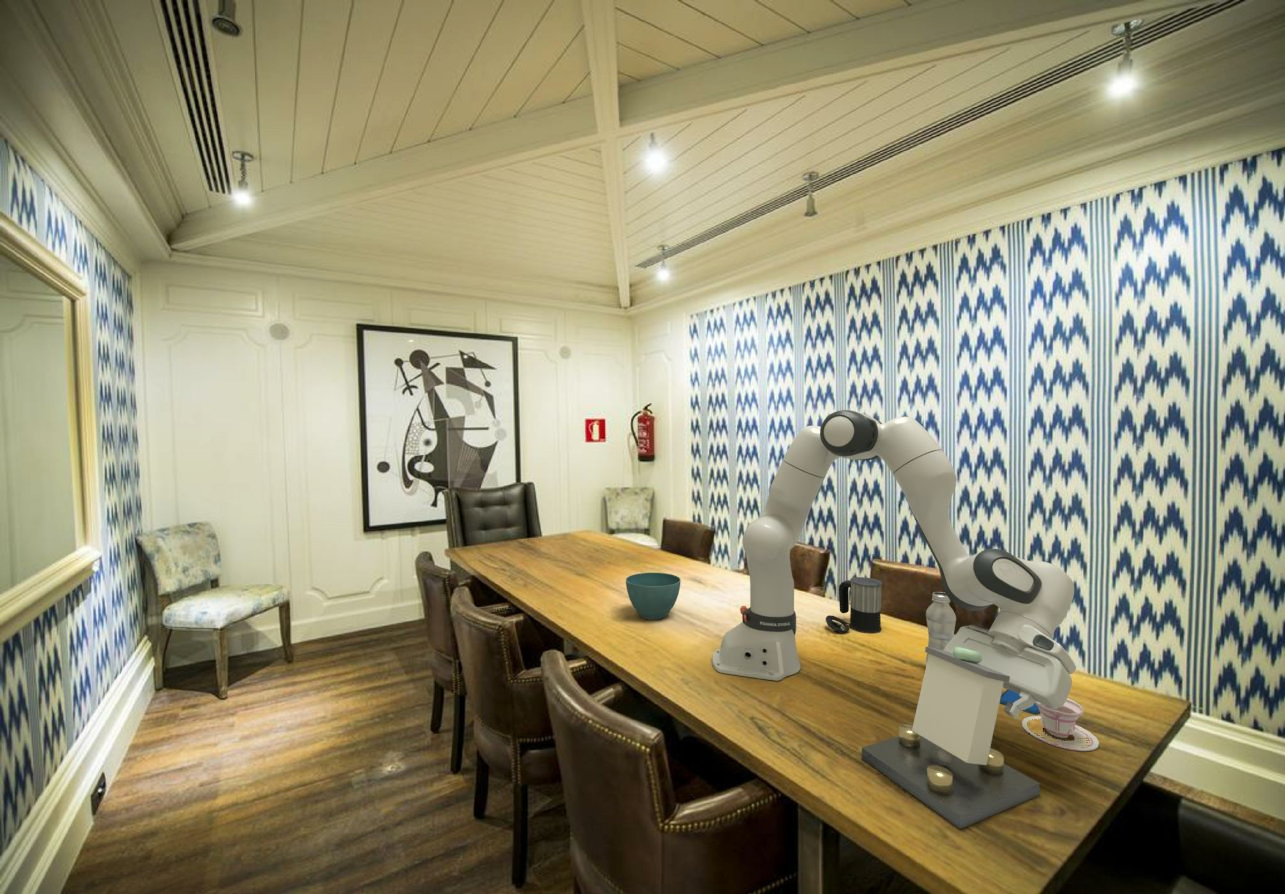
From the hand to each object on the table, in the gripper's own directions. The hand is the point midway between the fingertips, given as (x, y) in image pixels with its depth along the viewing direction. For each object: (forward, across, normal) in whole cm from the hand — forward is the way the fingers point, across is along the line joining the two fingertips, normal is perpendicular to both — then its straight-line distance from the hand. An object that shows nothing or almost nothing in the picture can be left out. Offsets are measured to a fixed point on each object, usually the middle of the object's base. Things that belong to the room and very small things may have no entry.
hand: (982, 702), depth 94 cm
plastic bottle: (-10, -28, +26) cm, 40 cm away
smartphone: (-15, -12, +31) cm, 37 cm away
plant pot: (+23, -96, -7) cm, 99 cm away
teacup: (-8, 0, +24) cm, 26 cm away
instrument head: (+13, 0, -1) cm, 13 cm away
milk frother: (-13, -60, +29) cm, 68 cm away
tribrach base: (+14, 0, +1) cm, 14 cm away
